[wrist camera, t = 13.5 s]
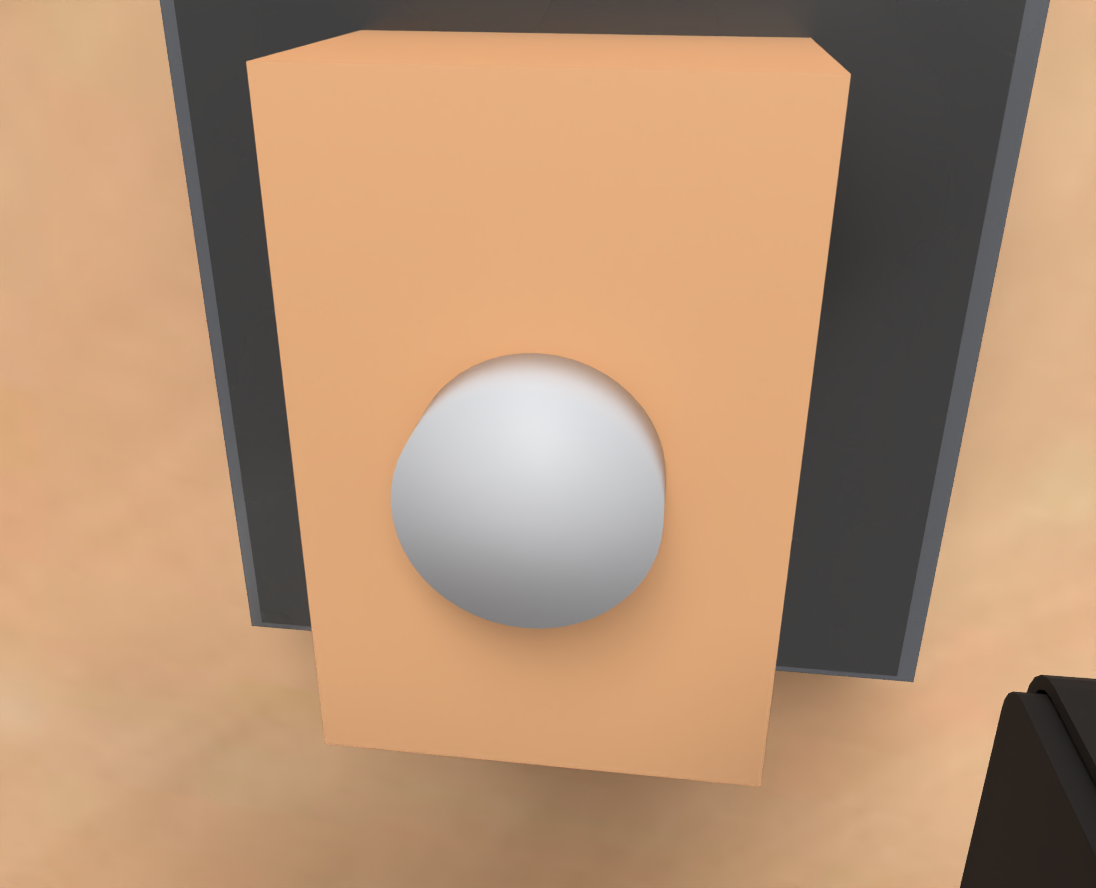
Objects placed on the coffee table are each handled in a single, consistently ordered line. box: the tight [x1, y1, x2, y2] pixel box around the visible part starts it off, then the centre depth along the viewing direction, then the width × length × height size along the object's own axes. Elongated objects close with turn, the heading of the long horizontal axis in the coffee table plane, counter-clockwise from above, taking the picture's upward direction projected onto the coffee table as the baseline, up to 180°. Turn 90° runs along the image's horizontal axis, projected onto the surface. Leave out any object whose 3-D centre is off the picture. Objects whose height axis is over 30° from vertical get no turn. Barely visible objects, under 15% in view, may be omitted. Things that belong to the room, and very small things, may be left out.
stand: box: [160, 0, 1050, 682], centre depth 17 cm, size 12×12×4 cm
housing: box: [246, 30, 851, 787], centre depth 14 cm, size 6×9×5 cm, turn 0°
